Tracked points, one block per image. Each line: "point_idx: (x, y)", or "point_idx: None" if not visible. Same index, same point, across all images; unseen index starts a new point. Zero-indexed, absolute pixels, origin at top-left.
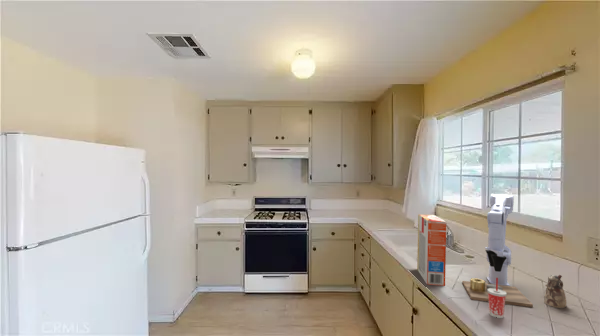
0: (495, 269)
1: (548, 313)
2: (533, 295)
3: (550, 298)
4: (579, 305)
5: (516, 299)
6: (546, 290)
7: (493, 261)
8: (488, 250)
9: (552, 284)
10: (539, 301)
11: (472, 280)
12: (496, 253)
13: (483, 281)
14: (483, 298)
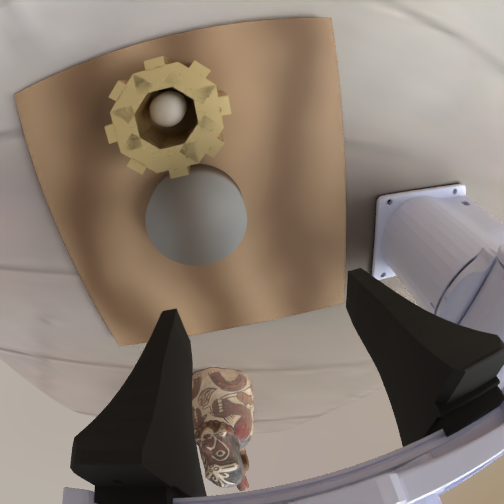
0: (157, 326)
1: (101, 364)
2: (285, 345)
3: (194, 399)
4: None
5: (132, 301)
6: (220, 413)
7: (141, 387)
8: (481, 380)
9: (202, 452)
10: (217, 357)
11: (135, 77)
12: (217, 500)
13: (164, 163)
14: (32, 157)
